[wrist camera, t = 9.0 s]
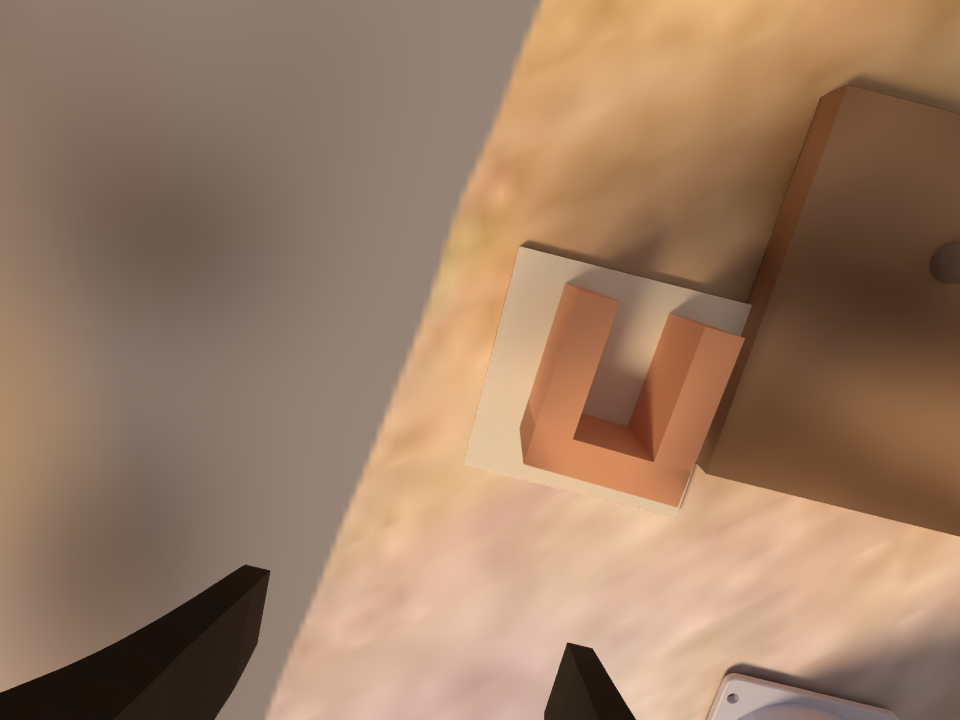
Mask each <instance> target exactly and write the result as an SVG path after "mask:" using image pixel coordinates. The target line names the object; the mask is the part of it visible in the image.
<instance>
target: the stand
mask: <svg viewBox="0 0 960 720" xmlns="http://www.w3.org/2000/svg"><path fill="white" fill-rule="evenodd" d="M747 304H750V305H752V306H751V309H750V312H749V315H748V318H747V320H746V323H745V326H744V329H743V332H742V334H741V337H743V338H745V340H744V342H743V345H742V347H741V350H740V352H739V355H738V357H737V360H736V362H735V365H734V367H733V370H732V372H731V375H730V377H729V380H728V382H727V385H726V388H725V390H724V393H723V395H722V398H721V400H720V403H719V405H718V408H717V410H716V413H715V415H714V418H713V420H712V423H711V425H710V428H709V430H708V433H707V435H706V438H705V440H704V443H703V445H702V448H701V450H700V453H699V455H698V458H697V460H696V463H697V464H698V465H699V466H700V467H701V469H702V470H703V471H704V472H705V473H706V474H709V475H713V476H717V477H722V478H726V479H730V480H734V481H738V482H742V483H746V484H750V485H754V486H758V487H762V488H766V489H770V490H774V491H778V492H782V493H786V494H790V495H794V496H798V497H802V498H806V499H810V500H814V501H818V502H822V503H826V504H831V505H835V506H839V507H843V508H847V509H851V510H855V511H859V512H863V513H867V514H871V515H875V516H879V517H883V518H887V519H891V520H895V521H899V522H903V523H907V524H911V525H915V526H919V527H923V528H927V529H931V530H936V531H940V532H944V533H948V534H952V535H956V536H960V114H958V113H954V112H950V111H947V110H943V109H939V108H935V107H931V106H927V105H923V104H920V103H916V102H912V101H908V100H904V99H900V98H897V97H893V96H889V95H885V94H881V93H877V92H874V91H870V90H866V89H862V88H858V87H854V86H851V85H847V86H844V87H842V88H840V89H838V90H836V91H834V92H832V93H830V94H827V95H825V96H823V97H821V98H820V100H819V103H818V106H817V109H816V112H815V115H814V117H813V120H812V123H811V126H810V129H809V131H808V134H807V137H806V140H805V143H804V145H803V148H802V151H801V154H800V157H799V159H798V162H797V165H796V168H795V171H794V174H793V176H792V179H791V182H790V185H789V188H788V190H787V193H786V196H785V199H784V202H783V204H782V207H781V210H780V213H779V216H778V218H777V221H776V224H775V227H774V230H773V233H772V235H771V238H770V241H769V244H768V247H767V249H766V252H765V255H764V258H763V261H762V263H761V266H760V269H759V272H758V275H757V277H756V280H755V283H754V286H753V289H752V292H751V294H750V297H749V300H748V303H747Z"/></svg>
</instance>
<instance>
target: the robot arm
mask: <svg viewBox="0 0 960 720" xmlns="http://www.w3.org/2000/svg"><path fill="white" fill-rule="evenodd" d="M269 576H270V570H265V569H261V568H257V567H253V566H249V565H244V566H242V567H240V568H239V569H237V570H235V571H234V572H232V573H231V574H229V575H228V576H226V577H225V578H223V579H222V580H220V581H219V582H217V583H215V584H214V585H212V586H211V587H209V588H208V589H206V590H205V591H203V592H202V593H200V594H198V595H197V596H195V597H194V598H192V599H190V600H189V601H187V602H186V603H184V604H182V605H181V606H179V607H177V608H176V609H174V610H173V611H171V612H169V613H168V614H166V615H164V616H163V617H161V618H160V619H158V620H156V621H154V622H152V623H150V624H149V625H147V626H145V627H143V628H142V629H140V630H138V631H136V632H135V633H133V634H131V635H129V636H127V637H125V638H124V639H122V640H120V641H118V642H116V643H114V644H112V645H110V646H108V647H106V648H104V649H102V650H100V651H99V652H96V653H94V654H92V655H90V656H87V657H85V658H83V659H81V660H79V661H77V662H75V663H72V664H70V665H68V666H66V667H64V668H61V669H59V670H56V671H54V672H51V673H49V674H46V675H44V676H42V677H39V678H36V679H34V680H31V681H29V682H26V683H24V684H21V685H19V686H16V687H14V688H11V689H9V690H7V691H4V692H1V693H0V720H214V719H215V718H216V716H217V714H218V713H219V711H220V710H221V708H222V707H223V705H224V704H225V702H226V701H227V699H228V698H229V696H230V695H231V693H232V691H233V690H234V688H235V686H236V684H237V682H238V681H239V679H240V677H241V675H242V673H243V671H244V669H245V667H246V665H247V663H248V661H249V659H250V657H251V655H252V653H253V651H254V649H255V647H256V645H257V642H258V637H259V630H260V625H261V619H262V615H263V609H264V604H265V598H266V592H267V587H268V582H269ZM732 693H734V694H733V695H732V696H728V695H730V694H732ZM544 720H636V719H635V717H634V716H633V714H632V713H631V711H630V709H629V708H628V706H627V705H626V703H625V701H624V700H623V698H622V697H621V695H620V693H619V692H618V690H617V688H616V687H615V685H614V683H613V682H612V680H611V678H610V677H609V675H608V673H607V672H606V670H605V668H604V667H603V665H602V663H601V662H600V660H599V658H598V657H597V655H596V654H595V652H594V650H593V649H592V648H588V647H584V646H580V645H576V644H572V643H568V642H567V645H566V648H565V651H564V654H563V657H562V660H561V663H560V666H559V670H558V673H557V676H556V679H555V682H554V685H553V688H552V691H551V694H550V697H549V700H548V703H547V706H546V709H545V712H544ZM707 720H900V719H899V718H898V717H897V715H896V714H895V713H894V712H892V711H890V710H887V709H883V708H878V707H874V706H870V705H866V704H862V703H858V702H854V701H849V700H845V699H841V698H837V697H833V696H829V695H825V694H820V693H816V692H812V691H808V690H804V689H800V688H796V687H792V686H787V685H783V684H779V683H775V682H771V681H767V680H763V679H758V678H754V677H750V676H746V675H742V674H738V673H731V674H728V675H727V676H725V677H724V679H723V681H722V683H721V685H720V688H719V690H718V693H717V695H716V698H715V700H714V703H713V705H712V707H711V710H710V712H709V715H708V717H707Z"/></svg>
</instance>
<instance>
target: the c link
mask: <svg viewBox="0 0 960 720" xmlns="http://www.w3.org/2000/svg"><path fill="white" fill-rule="evenodd" d="M618 305H619V301H617V300H614V299H612V298H610V297H607V296H605V295H603V294H601V293H598V292H595V291H591V290H588V289H584V288H581V287H578V286H574V285H571V284H567V283H565V286H564V289H563V292H562V295H561V298H560V301H559V305H558V308H557V311H556V314H555V317H554V320H553V324H552V327H551V330H550V333H549V336H548V339H547V342H546V346H545V349H544V352H543V355H542V358H541V361H540V365H539V368H538V371H537V374H536V377H535V380H534V383H533V387H532V390H531V393H530V396H529V399H528V402H527V406H526V409H525V412H524V415H523V418H522V421H521V425H520V428H519V430H520V439H521V448H522V457H523V464H525V465H528V466H532V467H535V468H539V469H542V470H546V471H550V472H553V473H557V474H560V475H564V476H567V477H571V478H574V479H578V480H582V481H585V482H589V483H592V484H596V485H599V486H603V487H606V488H610V489H613V490H617V491H621V492H624V493H628V494H631V495H635V496H638V497H642V498H645V499H649V500H652V501H656V502H660V503H663V504H667V505H670V506H674V507H677V508H678V505H679V503H680V500H681V498H682V495H683V493H684V490H685V488H686V485H687V483H688V480H689V478H690V475H691V473H692V470H693V468H694V465H695V463H696V460H697V458H698V455H699V453H700V450H701V448H702V445H703V443H704V440H705V438H706V435H707V433H708V430H709V428H710V425H711V423H712V420H713V418H714V415H715V413H716V410H717V408H718V405H719V403H720V400H721V398H722V395H723V393H724V390H725V388H726V385H727V382H728V380H729V377H730V375H731V372H732V370H733V367H734V365H735V362H736V360H737V357H738V355H739V352H740V350H741V347H742V345H743V342H744V340H745V338H743V337H740V336H737V335H735V334H732V333H729V332H726V331H724V330H721V329H718V328H715V327H713V326H710V325H707V324H704V323H701V322H698V321H695V320H691V319H688V318H684V317H681V316H677V315H674V314H670V313H669V315H668V317H667V320H666V323H665V326H664V328H663V331H662V334H661V337H660V339H659V342H658V345H657V348H656V350H655V353H654V356H653V359H652V361H651V364H650V367H649V370H648V372H647V375H646V378H645V381H644V383H643V386H642V389H641V392H640V394H639V397H638V400H637V403H636V405H635V408H634V411H633V414H632V416H631V419H630V422H629V425H628V426H625V425H621V424H617V423H614V422H610V421H607V420H603V419H600V418H596V417H593V416H589V415H586V414H582V411H583V408H584V405H585V402H586V399H587V396H588V393H589V390H590V387H591V384H592V381H593V379H594V376H595V373H596V370H597V367H598V364H599V361H600V358H601V355H602V352H603V349H604V346H605V343H606V340H607V338H608V335H609V332H610V329H611V326H612V323H613V320H614V317H615V314H616V311H617V308H618Z"/></svg>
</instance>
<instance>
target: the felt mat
mask: <svg viewBox="0 0 960 720" xmlns="http://www.w3.org/2000/svg"><path fill="white" fill-rule="evenodd" d="M565 283H567V284H571V285H574V286H578V287H581V288H584V289H588V290H591V291H595V292H598V293H601V294H603V295H605V296H607V297H610V298H612V299H614V300H617V301H619V305H618V308H617V311H616V314H615V317H614V320H613V323H612V326H611V329H610V332H609V335H608V338H607V340H606V343H605V346H604V349H603V352H602V355H601V358H600V361H599V364H598V367H597V370H596V373H595V376H594V379H593V381H592V384H591V387H590V390H589V393H588V396H587V399H586V402H585V405H584V408H583V411H582V414H586V415H589V416H593V417H596V418H600V419H603V420H607V421H610V422H614V423H617V424H621V425H625V426H628V425H629V422H630V419H631V416H632V414H633V411H634V408H635V405H636V403H637V400H638V397H639V394H640V392H641V389H642V386H643V383H644V381H645V378H646V375H647V372H648V370H649V367H650V364H651V361H652V359H653V356H654V353H655V350H656V348H657V345H658V342H659V339H660V337H661V334H662V331H663V328H664V326H665V323H666V320H667V317H668V315H669V313H670V314H674V315H677V316H681V317H684V318H688V319H691V320H695V321H698V322H701V323H704V324H707V325H710V326H713V327H715V328H718V329H721V330H724V331H726V332H729V333H732V334H735V335H737V336H740V337H741V334H742V332H743V329H744V326H745V323H746V320H747V318H748V315H749V312H750V309H751V306H752V305H750V304H746V303H742V302H738V301H734V300H730V299H726V298H722V297H718V296H714V295H710V294H706V293H702V292H698V291H695V290H691V289H687V288H683V287H679V286H675V285H671V284H667V283H663V282H659V281H655V280H651V279H647V278H643V277H639V276H635V275H631V274H627V273H623V272H619V271H616V270H612V269H608V268H604V267H600V266H596V265H592V264H588V263H584V262H580V261H576V260H572V259H568V258H564V257H560V256H556V255H552V254H548V253H544V252H540V251H537V250H533V249H529V248H525V247H521V246H519V249H518V253H517V257H516V261H515V265H514V269H513V272H512V276H511V280H510V284H509V288H508V292H507V296H506V300H505V304H504V307H503V311H502V315H501V319H500V323H499V327H498V331H497V335H496V339H495V342H494V346H493V350H492V354H491V358H490V362H489V366H488V370H487V374H486V377H485V381H484V385H483V389H482V393H481V397H480V401H479V405H478V409H477V412H476V416H475V420H474V424H473V428H472V432H471V436H470V440H469V444H468V447H467V451H466V455H465V459H464V464H463V465H465V466H469V467H473V468H477V469H481V470H485V471H489V472H493V473H497V474H501V475H505V476H509V477H513V478H517V479H521V480H525V481H530V482H534V483H538V484H542V485H546V486H550V487H554V488H558V489H562V490H566V491H570V492H574V493H578V494H582V495H586V496H590V497H595V498H599V499H603V500H607V501H611V502H615V503H619V504H623V505H627V506H631V507H635V508H639V509H643V510H647V511H651V512H655V513H660V514H664V515H668V516H672V517H676V516H677V513H678V510H679V508H680V505H681V502H682V499H683V496H684V494H685V491H686V488H687V485H688V483H687V485H686V488H685V490H684V493H683V495H682V498H681V500H680V503H679V505H678V508H677V507H674V506H670V505H667V504H663V503H660V502H656V501H652V500H649V499H645V498H642V497H638V496H635V495H631V494H628V493H624V492H621V491H617V490H613V489H610V488H606V487H603V486H599V485H596V484H592V483H589V482H585V481H582V480H578V479H574V478H571V477H567V476H564V475H560V474H557V473H553V472H550V471H546V470H542V469H539V468H535V467H532V466H528V465H525V464H523V457H522V448H521V439H520V430H519V428H520V425H521V421H522V418H523V415H524V412H525V409H526V406H527V402H528V399H529V396H530V393H531V390H532V387H533V383H534V380H535V377H536V374H537V371H538V368H539V365H540V361H541V358H542V355H543V352H544V349H545V346H546V342H547V339H548V336H549V333H550V330H551V327H552V324H553V320H554V317H555V314H556V311H557V308H558V305H559V301H560V298H561V295H562V292H563V289H564V286H565ZM694 466H695V465H694ZM692 471H693V470H692ZM691 474H692V473H691ZM690 477H691V475H690ZM689 480H690V478H689ZM689 480H688V482H689Z"/></svg>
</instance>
